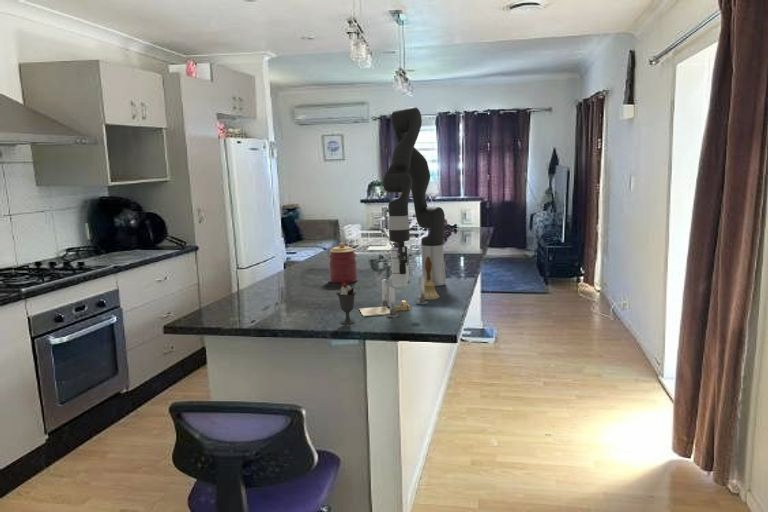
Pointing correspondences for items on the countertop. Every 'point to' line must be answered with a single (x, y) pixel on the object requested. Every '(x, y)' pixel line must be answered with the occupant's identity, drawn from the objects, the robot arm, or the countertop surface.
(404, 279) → the syrup box
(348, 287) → the sundae
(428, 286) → the whisk broom
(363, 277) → the countertop surface
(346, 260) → the canister
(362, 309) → the pad
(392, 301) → the grey rods with bases
